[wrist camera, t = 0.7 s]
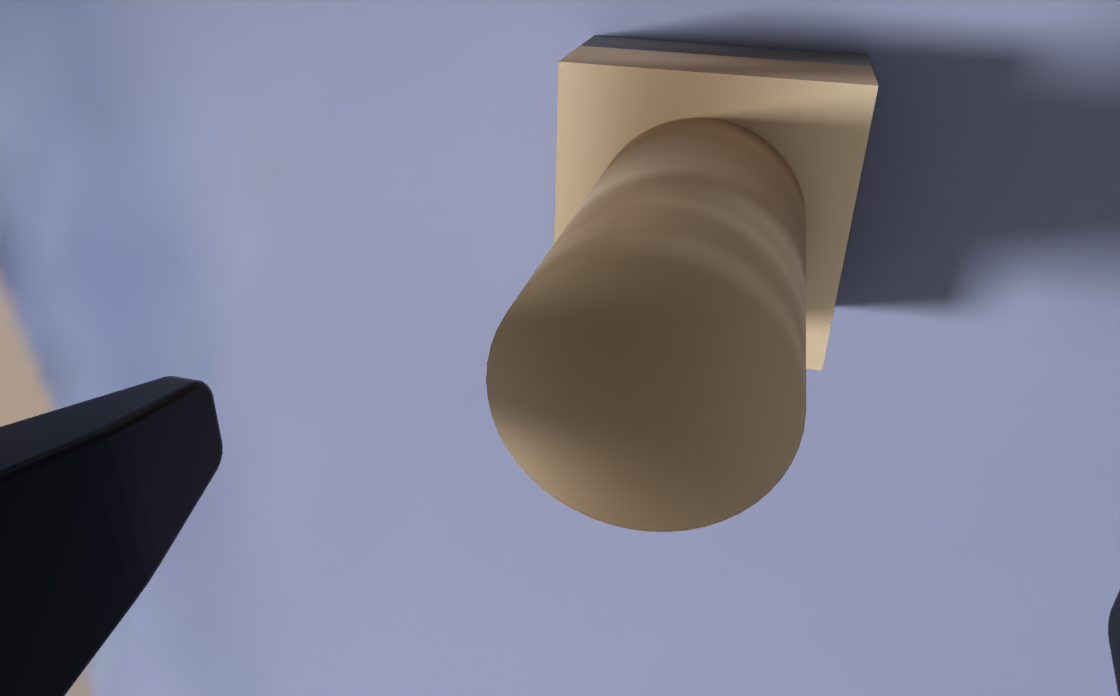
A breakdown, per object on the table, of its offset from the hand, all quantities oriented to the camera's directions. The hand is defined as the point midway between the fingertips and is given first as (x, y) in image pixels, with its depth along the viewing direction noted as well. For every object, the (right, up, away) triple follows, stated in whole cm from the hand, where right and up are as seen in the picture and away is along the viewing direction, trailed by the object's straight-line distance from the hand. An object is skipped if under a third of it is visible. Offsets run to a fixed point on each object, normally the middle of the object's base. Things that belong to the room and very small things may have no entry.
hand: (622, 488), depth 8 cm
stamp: (+2, +5, +9) cm, 10 cm away
